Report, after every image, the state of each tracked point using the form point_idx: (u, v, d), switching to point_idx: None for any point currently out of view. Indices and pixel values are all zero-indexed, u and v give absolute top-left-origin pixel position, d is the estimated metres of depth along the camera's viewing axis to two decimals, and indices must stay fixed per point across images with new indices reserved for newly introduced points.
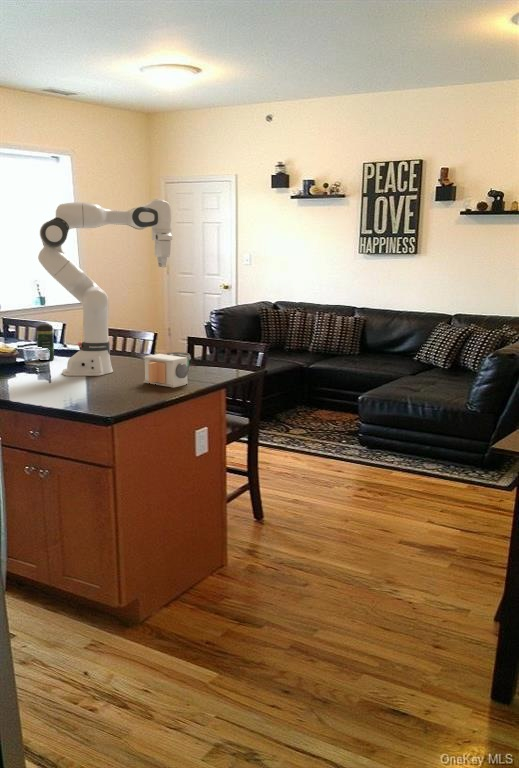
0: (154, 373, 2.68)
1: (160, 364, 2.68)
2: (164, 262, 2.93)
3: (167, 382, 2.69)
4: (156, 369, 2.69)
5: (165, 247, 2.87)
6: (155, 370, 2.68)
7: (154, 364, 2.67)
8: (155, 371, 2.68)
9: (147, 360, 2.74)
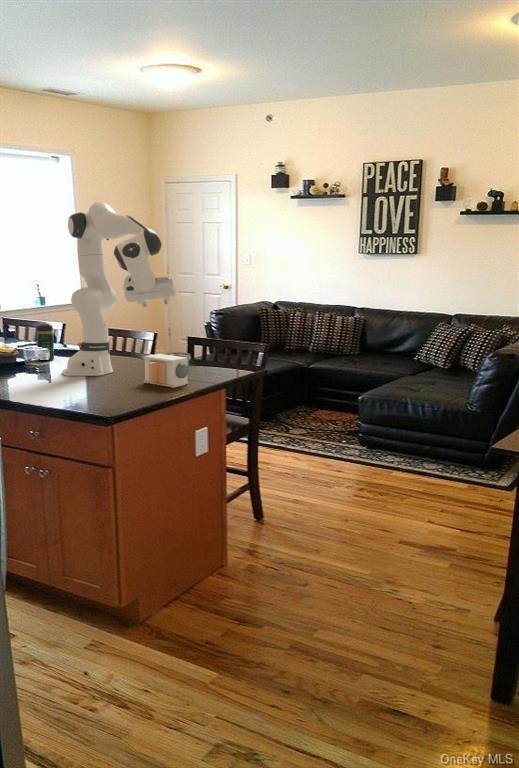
0: (154, 373, 2.68)
1: (160, 364, 2.68)
2: None
3: (167, 382, 2.69)
4: (156, 369, 2.69)
5: None
6: (155, 370, 2.68)
7: (154, 364, 2.67)
8: (155, 371, 2.68)
9: (147, 360, 2.74)
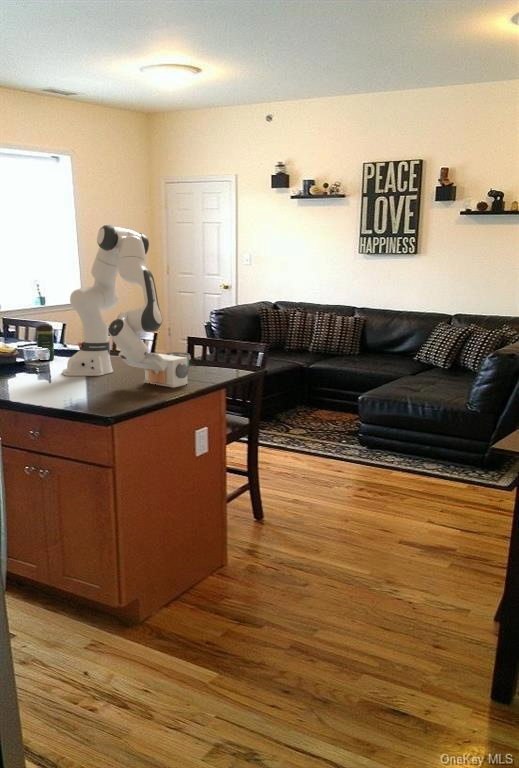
0: None
1: None
2: None
3: (167, 382, 2.69)
4: None
5: None
6: None
7: None
8: None
9: None
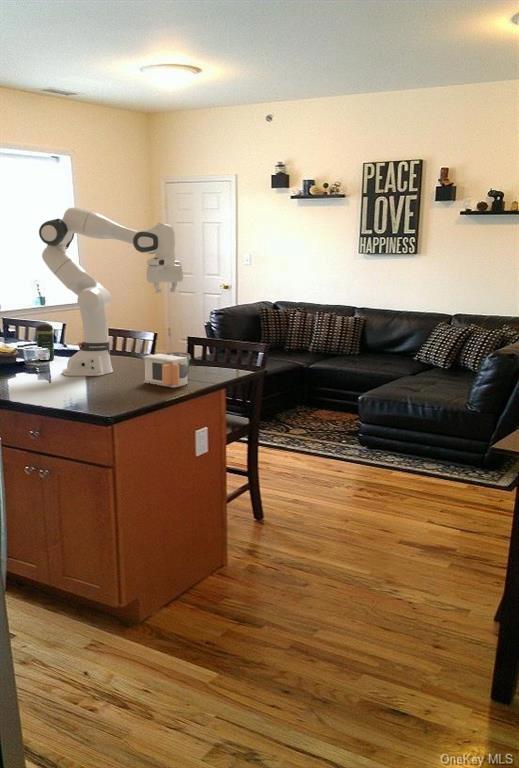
0: (167, 375, 2.64)
1: (174, 366, 2.64)
2: (156, 288, 2.84)
3: None
4: (170, 371, 2.64)
5: (149, 272, 2.80)
6: (169, 372, 2.64)
7: (168, 366, 2.63)
8: (169, 373, 2.64)
9: (147, 360, 2.74)
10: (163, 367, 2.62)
